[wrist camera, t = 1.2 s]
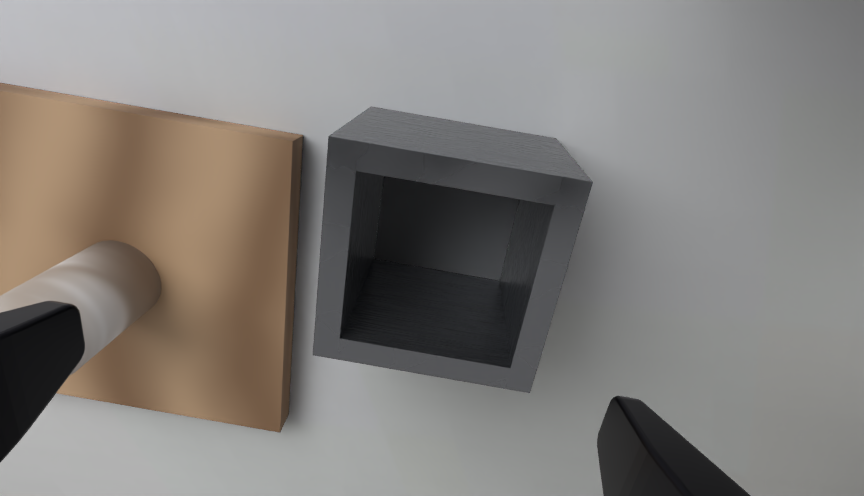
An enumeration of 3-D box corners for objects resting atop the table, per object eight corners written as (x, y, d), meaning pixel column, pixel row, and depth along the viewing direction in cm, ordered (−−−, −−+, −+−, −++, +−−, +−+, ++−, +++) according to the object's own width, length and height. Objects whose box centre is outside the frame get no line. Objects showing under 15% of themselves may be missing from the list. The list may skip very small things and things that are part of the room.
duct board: (302, 135, 19) (239, 172, 14) (288, 414, 25) (239, 516, 19) (-54, 73, 19) (-253, 86, 14) (12, 366, 25) (-111, 455, 19)
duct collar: (556, 138, 18) (592, 181, 13) (514, 300, 21) (529, 392, 16) (370, 106, 18) (328, 136, 13) (353, 272, 21) (312, 355, 16)
